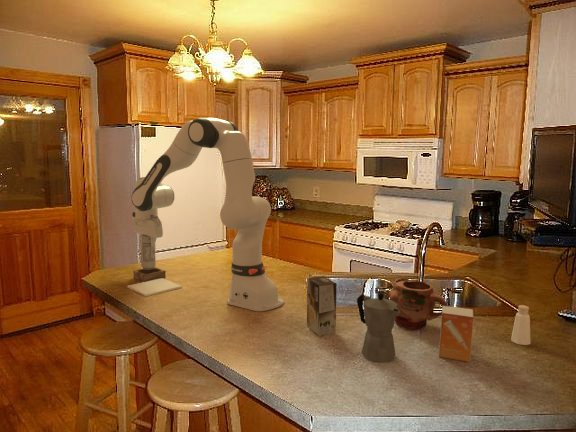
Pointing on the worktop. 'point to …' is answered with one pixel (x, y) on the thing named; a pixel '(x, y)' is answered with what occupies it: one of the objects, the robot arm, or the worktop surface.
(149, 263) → the energy drink can
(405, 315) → the decorative planter
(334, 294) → the coffee box
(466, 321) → the small box
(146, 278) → the holder
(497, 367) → the worktop surface
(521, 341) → the salt shaker
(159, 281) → the tile
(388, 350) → the coffeepot
